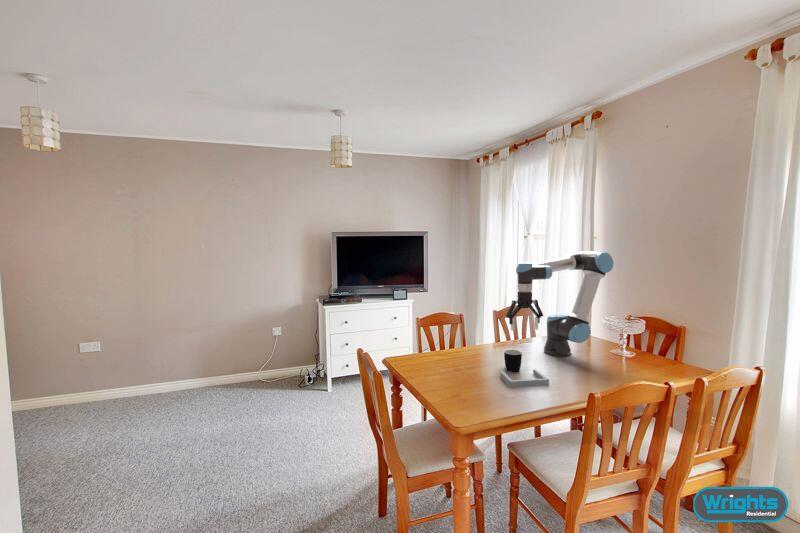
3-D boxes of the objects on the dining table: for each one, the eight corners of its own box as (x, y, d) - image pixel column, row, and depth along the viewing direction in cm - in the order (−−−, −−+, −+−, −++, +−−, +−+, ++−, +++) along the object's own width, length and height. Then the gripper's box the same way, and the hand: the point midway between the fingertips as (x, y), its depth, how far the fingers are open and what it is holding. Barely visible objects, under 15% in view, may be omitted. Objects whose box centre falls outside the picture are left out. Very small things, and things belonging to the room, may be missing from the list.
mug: (525, 372, 200) (525, 353, 199) (510, 374, 197) (510, 355, 196) (512, 365, 211) (512, 347, 210) (497, 367, 209) (497, 349, 208)
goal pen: (500, 377, 194) (500, 371, 194) (536, 374, 196) (536, 369, 195) (510, 387, 180) (510, 381, 180) (548, 385, 182) (548, 379, 181)
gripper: (505, 292, 200) (505, 332, 202) (550, 291, 203) (549, 330, 205) (500, 290, 207) (499, 329, 209) (543, 289, 210) (542, 327, 212)
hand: (524, 329), depth 207 cm, fingers open, 13 cm apart
